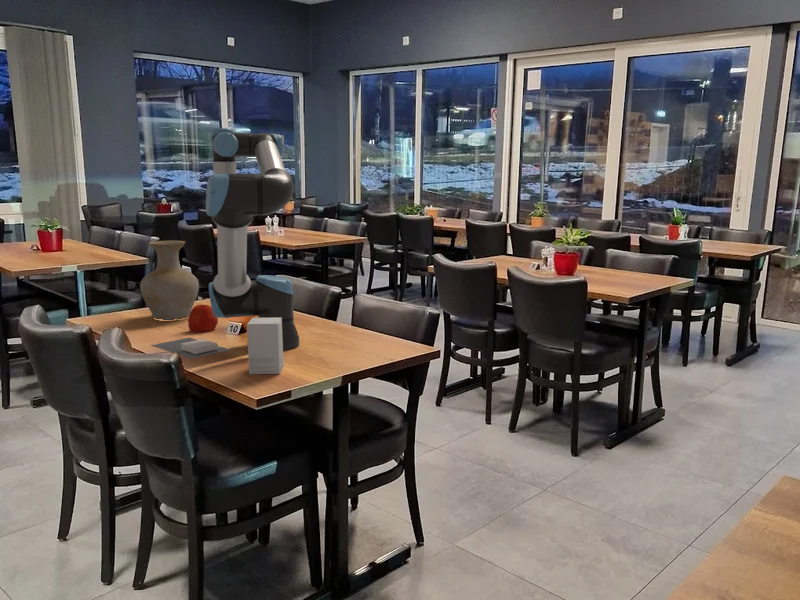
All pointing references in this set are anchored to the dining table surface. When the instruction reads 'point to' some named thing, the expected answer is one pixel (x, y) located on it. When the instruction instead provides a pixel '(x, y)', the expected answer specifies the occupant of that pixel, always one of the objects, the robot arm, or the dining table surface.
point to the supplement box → (265, 345)
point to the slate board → (176, 347)
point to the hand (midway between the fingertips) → (228, 243)
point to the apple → (202, 319)
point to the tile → (199, 346)
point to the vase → (169, 284)
